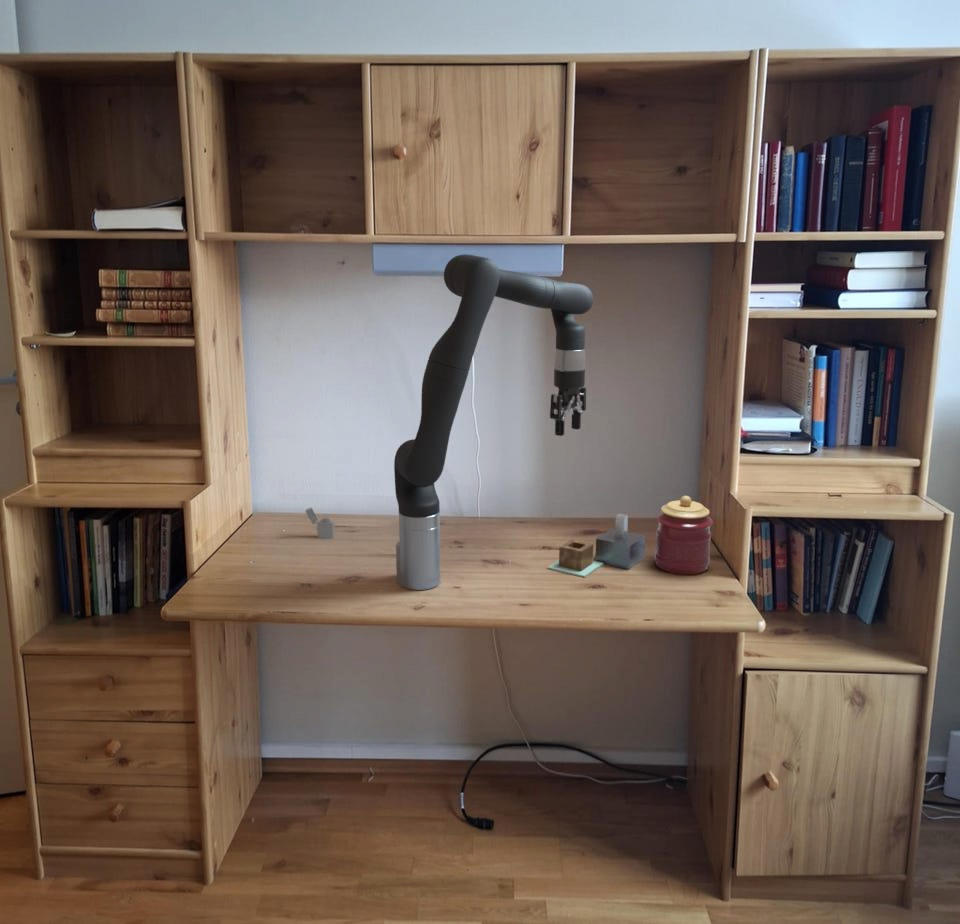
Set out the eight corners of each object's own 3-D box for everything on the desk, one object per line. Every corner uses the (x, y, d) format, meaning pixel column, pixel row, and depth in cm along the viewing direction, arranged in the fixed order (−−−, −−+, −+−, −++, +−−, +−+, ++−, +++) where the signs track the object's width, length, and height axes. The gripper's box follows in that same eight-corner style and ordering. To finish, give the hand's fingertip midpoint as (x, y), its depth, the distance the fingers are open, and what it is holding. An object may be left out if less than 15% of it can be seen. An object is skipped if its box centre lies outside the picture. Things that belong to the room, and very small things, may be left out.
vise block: (595, 561, 215) (596, 517, 212) (611, 550, 222) (613, 507, 219) (629, 569, 210) (631, 523, 207) (644, 558, 217) (646, 514, 214)
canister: (698, 579, 204) (703, 507, 199) (646, 568, 210) (649, 498, 206) (716, 562, 214) (721, 493, 210) (665, 552, 221) (669, 485, 217)
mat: (547, 568, 210) (547, 567, 210) (567, 556, 218) (567, 554, 218) (584, 577, 205) (584, 575, 205) (603, 564, 213) (603, 562, 213)
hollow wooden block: (558, 566, 211) (559, 546, 210) (570, 558, 216) (571, 539, 214) (581, 571, 208) (581, 551, 206) (592, 563, 212) (593, 544, 211)
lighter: (334, 536, 233) (333, 507, 230) (333, 538, 231) (331, 509, 229) (308, 535, 233) (306, 506, 231) (306, 537, 231) (305, 508, 229)
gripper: (569, 362, 221) (568, 425, 225) (541, 369, 210) (540, 435, 214) (596, 365, 217) (594, 428, 221) (569, 372, 206) (567, 439, 210)
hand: (567, 432), depth 218 cm, fingers open, 8 cm apart
